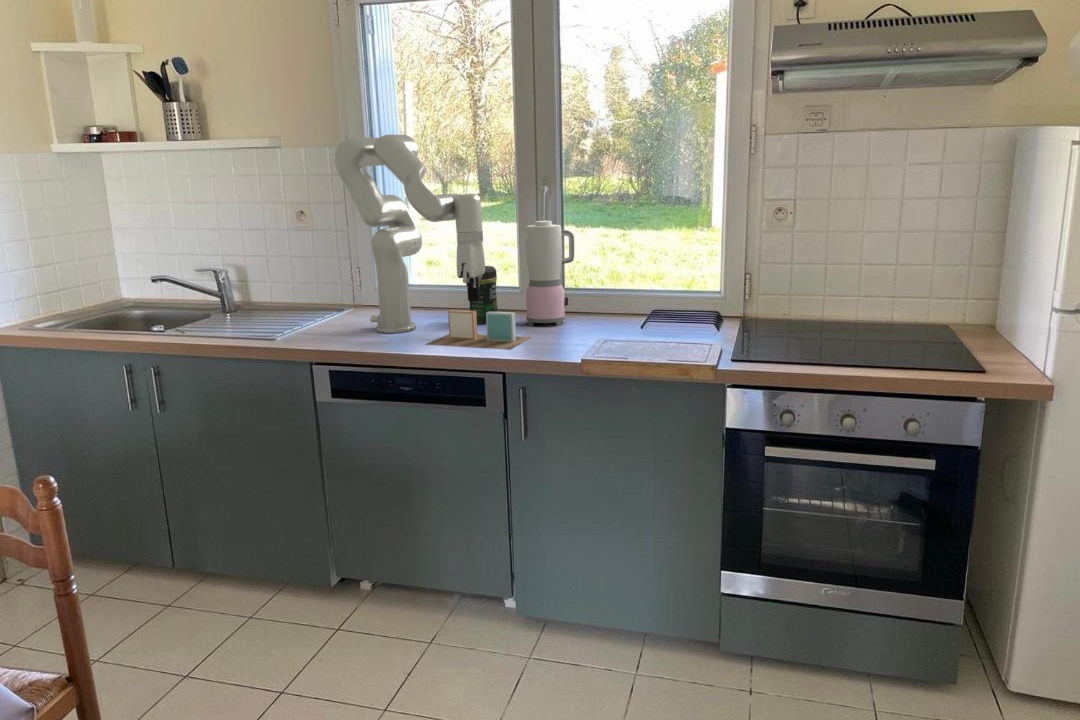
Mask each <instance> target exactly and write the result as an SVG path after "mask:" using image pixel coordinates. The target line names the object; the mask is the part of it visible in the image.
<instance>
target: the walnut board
mask: <svg viewBox="0 0 1080 720" xmlns="http://www.w3.org/2000/svg"><path fill="white" fill-rule="evenodd" d="M477 337H478V338H477V339H475V340H471V339H454V338H450V337H449V333H448V334H446V335H443V336H441V337H439V338H437V339H434V340H432V341H430V342H428V343H426V344H425V346H426V345H428V346H440V347H441V346H443V347H458V348H459V347H460V348H476V349H477V348H478V349H490V350H491V349H493V350H513V349H514V348H516V347H518V346H519V345H522V344H523V343H525V342H527V341H528V340H530V339H532V338H533V336H517V335H516V341H514V342H506V341H489V340H487V334H481V333H479V334H478V333H477Z"/></svg>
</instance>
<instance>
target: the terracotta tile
mask: <svg viewBox="0 0 1080 720" xmlns="http://www.w3.org/2000/svg"><path fill="white" fill-rule="evenodd" d="M447 317H448V329H449V330H448V334H449V337H450V338H454V339H471V340H475V339H477V338H478V337H477V334H478V324H477V316H476V311H470V310H462V309H451V310H448V311H447Z"/></svg>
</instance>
